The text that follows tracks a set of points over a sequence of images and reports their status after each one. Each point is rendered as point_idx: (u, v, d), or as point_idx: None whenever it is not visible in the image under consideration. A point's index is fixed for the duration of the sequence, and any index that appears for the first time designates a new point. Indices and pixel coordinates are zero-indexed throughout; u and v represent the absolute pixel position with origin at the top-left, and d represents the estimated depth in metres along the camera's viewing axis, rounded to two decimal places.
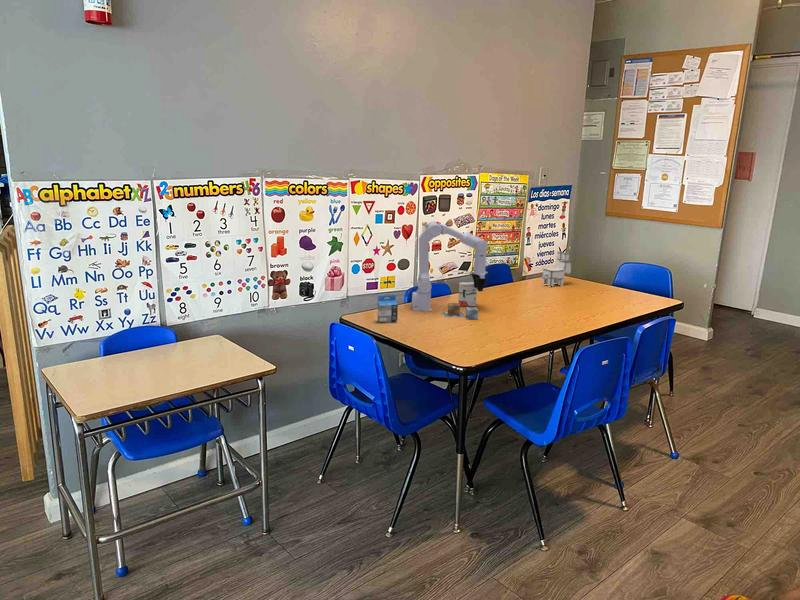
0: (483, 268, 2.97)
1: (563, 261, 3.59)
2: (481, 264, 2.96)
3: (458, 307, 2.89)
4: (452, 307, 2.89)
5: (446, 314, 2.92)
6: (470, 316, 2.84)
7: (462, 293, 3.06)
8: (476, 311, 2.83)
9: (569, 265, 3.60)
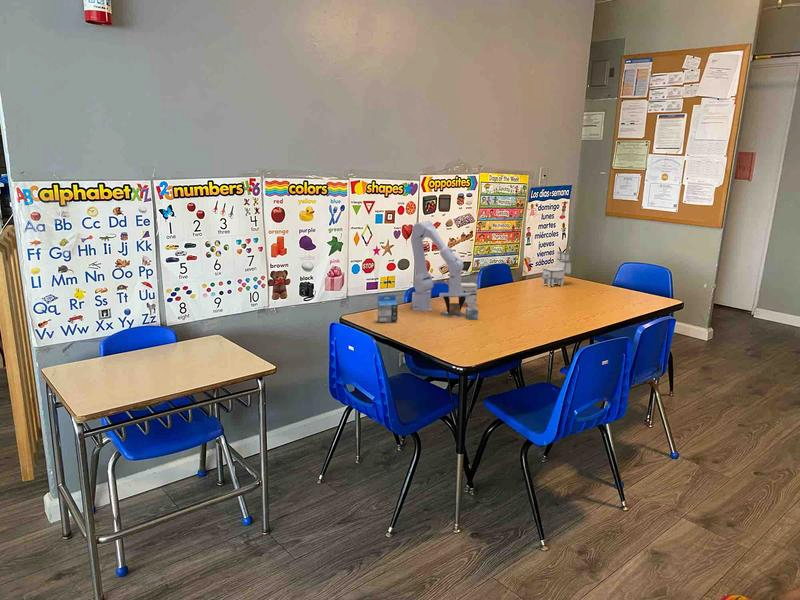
0: (450, 289, 2.88)
1: (563, 261, 3.59)
2: (449, 284, 2.88)
3: (458, 307, 2.89)
4: (452, 307, 2.89)
5: (446, 314, 2.92)
6: (470, 316, 2.84)
7: None
8: (476, 311, 2.83)
9: (569, 265, 3.60)
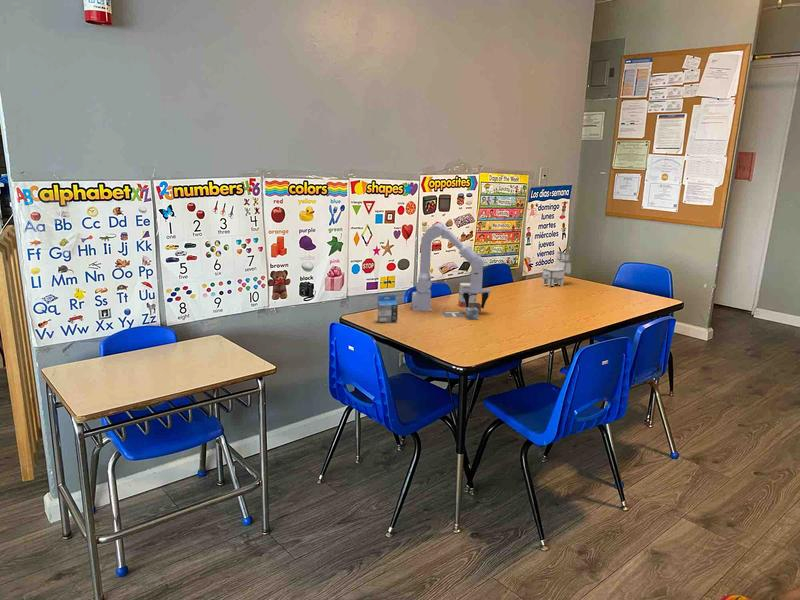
0: (471, 286, 2.91)
1: (563, 261, 3.59)
2: None
3: (479, 307, 2.92)
4: None
5: (446, 314, 2.92)
6: (470, 316, 2.84)
7: (462, 294, 3.05)
8: (476, 311, 2.83)
9: (569, 265, 3.60)
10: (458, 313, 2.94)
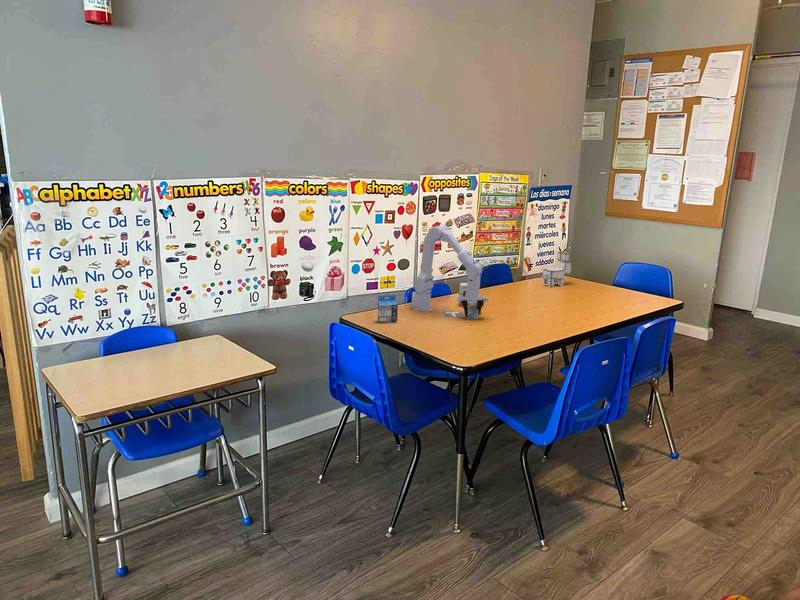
0: (468, 293, 2.82)
1: (563, 261, 3.59)
2: (467, 288, 2.83)
3: None
4: None
5: (446, 314, 2.92)
6: (470, 316, 2.84)
7: (462, 294, 3.05)
8: (476, 311, 2.83)
9: (569, 265, 3.60)
10: (458, 313, 2.94)
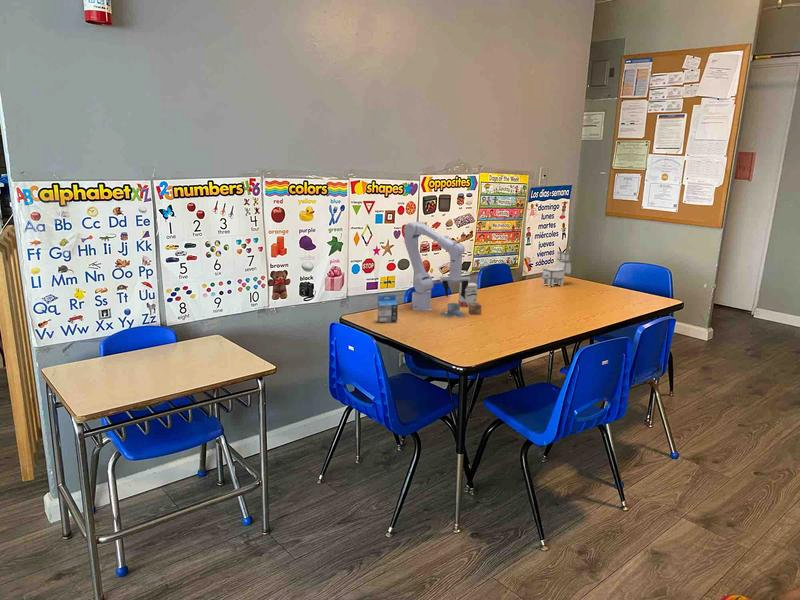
0: (451, 273, 2.86)
1: (563, 261, 3.59)
2: None
3: (479, 307, 2.92)
4: (473, 307, 2.92)
5: (446, 314, 2.92)
6: (451, 311, 2.89)
7: None
8: (458, 307, 2.89)
9: (569, 265, 3.60)
10: None
